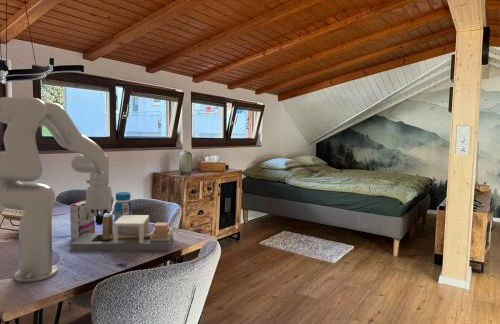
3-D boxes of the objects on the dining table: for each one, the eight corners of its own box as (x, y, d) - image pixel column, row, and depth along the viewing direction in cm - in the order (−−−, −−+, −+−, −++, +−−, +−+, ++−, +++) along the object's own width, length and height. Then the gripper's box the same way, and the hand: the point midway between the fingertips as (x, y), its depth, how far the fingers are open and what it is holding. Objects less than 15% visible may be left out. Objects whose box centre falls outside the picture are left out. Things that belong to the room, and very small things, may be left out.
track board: (169, 250, 148) (169, 223, 147) (70, 251, 143) (70, 223, 142) (173, 238, 163) (173, 214, 162) (84, 239, 159) (84, 214, 158)
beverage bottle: (110, 235, 165) (110, 194, 164) (118, 230, 174) (118, 191, 172) (128, 236, 165) (128, 195, 163) (134, 231, 173) (134, 192, 172)
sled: (169, 240, 150) (169, 219, 149) (101, 240, 147) (101, 218, 146) (171, 233, 160) (172, 213, 159) (108, 234, 157) (108, 213, 156)
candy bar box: (86, 233, 168) (85, 199, 167) (95, 233, 167) (95, 200, 166) (69, 239, 157) (69, 204, 156) (79, 240, 156) (79, 204, 155)
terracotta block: (166, 236, 152) (166, 225, 152) (154, 236, 152) (154, 225, 151) (167, 233, 157) (167, 222, 157) (156, 233, 157) (156, 222, 156)
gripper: (78, 183, 145) (78, 226, 146) (115, 184, 147) (115, 226, 148) (84, 181, 152) (84, 222, 154) (119, 181, 154) (119, 222, 156)
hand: (99, 224), depth 151 cm, fingers closed
